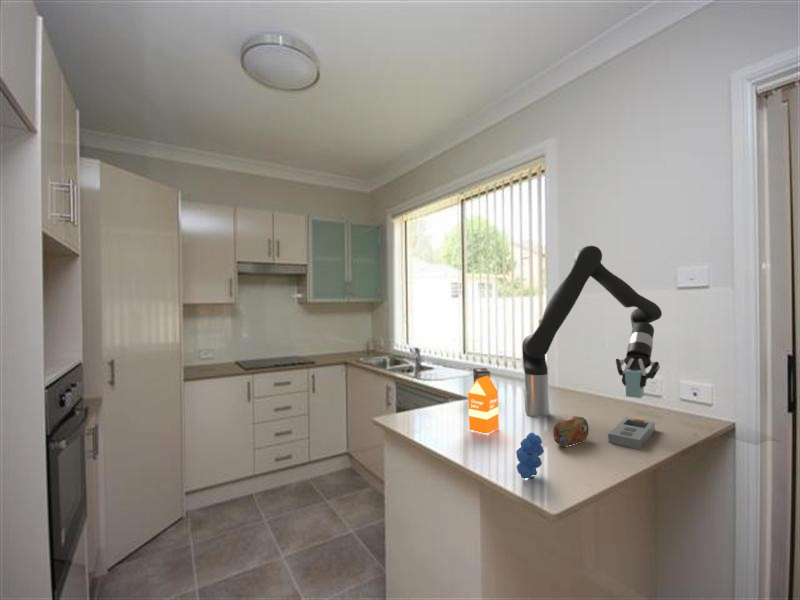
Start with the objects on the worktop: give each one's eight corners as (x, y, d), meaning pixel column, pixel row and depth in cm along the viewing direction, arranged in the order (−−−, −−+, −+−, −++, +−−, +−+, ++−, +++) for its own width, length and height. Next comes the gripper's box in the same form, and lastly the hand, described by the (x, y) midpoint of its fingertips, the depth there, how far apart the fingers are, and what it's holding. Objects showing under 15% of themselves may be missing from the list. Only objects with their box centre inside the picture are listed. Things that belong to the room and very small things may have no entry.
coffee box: (474, 401, 176) (472, 368, 176) (487, 400, 176) (486, 367, 176) (477, 406, 167) (476, 371, 167) (491, 406, 167) (490, 371, 167)
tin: (559, 450, 118) (558, 423, 118) (551, 446, 121) (550, 421, 121) (590, 440, 125) (589, 415, 125) (581, 437, 127) (580, 413, 128)
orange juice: (469, 431, 137) (467, 378, 137) (481, 425, 143) (479, 374, 143) (487, 436, 131) (485, 380, 131) (499, 429, 138) (497, 376, 138)
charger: (626, 396, 130) (624, 370, 130) (629, 393, 133) (628, 368, 133) (640, 398, 127) (639, 371, 127) (643, 395, 130) (642, 369, 130)
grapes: (527, 465, 108) (526, 425, 108) (549, 473, 102) (548, 430, 102) (505, 479, 100) (503, 435, 100) (528, 488, 95) (526, 442, 95)
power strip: (640, 449, 116) (639, 438, 116) (608, 442, 122) (608, 431, 122) (654, 430, 131) (654, 420, 131) (626, 424, 137) (625, 415, 137)
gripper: (616, 340, 140) (608, 377, 132) (661, 341, 130) (655, 382, 122) (620, 352, 144) (613, 388, 136) (664, 354, 134) (659, 394, 126)
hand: (633, 385), depth 129 cm, fingers closed on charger, 4 cm apart
